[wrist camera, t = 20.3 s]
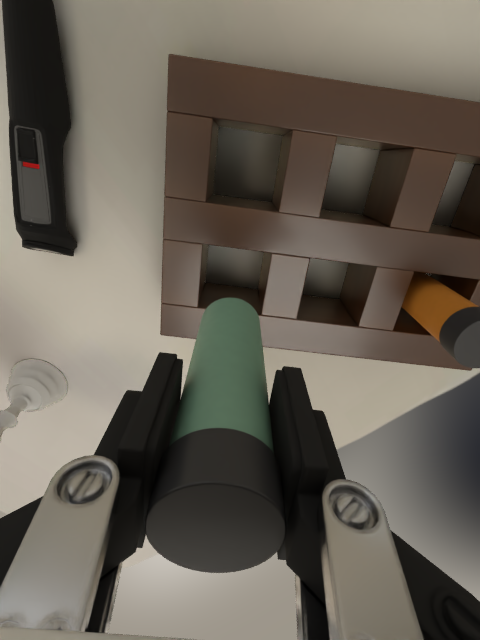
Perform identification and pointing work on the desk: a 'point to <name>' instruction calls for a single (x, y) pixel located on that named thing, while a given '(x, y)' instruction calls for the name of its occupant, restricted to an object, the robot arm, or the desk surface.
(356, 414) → the desk surface
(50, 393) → the chalice
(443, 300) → the amber tube
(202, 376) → the sage tube
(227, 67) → the rack
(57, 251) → the electric trimmer
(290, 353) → the desk surface
